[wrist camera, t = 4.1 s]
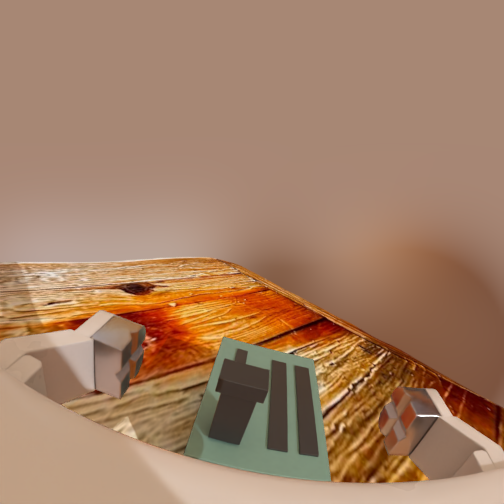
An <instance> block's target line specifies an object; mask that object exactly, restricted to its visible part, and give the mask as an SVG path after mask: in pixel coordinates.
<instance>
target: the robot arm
mask: <svg viewBox="0 0 504 504" xmlns="http://www.w3.org/2000/svg"><path fill="white" fill-rule="evenodd" d="M145 334H146V329H145V326H143V325H140V324H137V323H135V322H132V321H129V320H127V319H124V318H122V317H119V316H116V315H114V314H112V313H109V312H106V311H103V310H100V311H98V312H97V313H96V314H95V315H93V316H92V317H91V318H90V319H88V320H87V321H86V322H85V323H84V324H82V325H81V326H80V327H79V328H78V329H76V330H75V331H73V330H71V329H69V330H63V331H56V332H50V333H43V334H36V335H28V336H21V337H13V338H6V339H4V340H2V341H1V342H0V504H504V451H503V450H502V448H501V447H500V446H499V445H497V444H496V443H494V442H493V441H491V440H490V439H488V438H487V437H485V436H484V435H482V434H481V433H479V432H478V431H477V430H475V429H474V428H472V427H471V426H469V425H468V424H466V423H465V422H463V421H462V420H460V419H459V418H457V417H453V416H452V414H451V412H450V411H449V409H448V408H447V406H446V404H445V403H444V401H443V400H442V398H441V397H440V395H439V393H438V392H437V391H436V390H434V389H424V388H410V387H399V386H398V387H397V388H396V389H395V390H394V391H393V393H392V395H391V402H390V403H388V404H387V405H385V406H384V408H383V410H382V411H381V413H380V417H379V429H380V432H381V433H382V434H383V435H385V436H386V437H385V439H384V444H385V447H386V450H387V453H388V455H401V456H409V458H410V459H411V460H412V461H413V462H414V463H415V464H416V465H417V466H418V467H419V469H420V470H421V471H422V472H423V473H424V474H425V475H426V476H427V477H428V478H429V479H430V480H426V481H414V482H397V483H346V482H328V481H315V480H305V479H296V478H288V477H280V476H274V475H267V474H261V473H256V472H250V471H245V470H240V469H235V468H231V467H226V466H222V465H218V464H214V463H210V462H206V461H202V460H198V459H195V458H191V457H188V456H184V455H181V454H178V453H174V452H171V451H168V450H165V449H162V448H159V447H156V446H153V445H151V444H148V443H145V442H142V441H140V440H137V439H134V438H132V437H129V436H127V435H124V434H122V433H119V432H117V431H114V430H112V429H110V428H107V427H105V426H103V425H101V424H98V423H96V422H94V421H92V420H90V419H88V418H86V417H84V416H81V415H79V414H77V413H75V412H73V411H71V410H70V409H68V408H66V407H64V406H62V405H61V404H63V403H66V402H68V401H71V400H73V399H75V398H78V397H80V396H83V395H85V394H88V393H90V392H92V391H95V389H96V390H98V391H101V392H103V393H106V394H108V395H111V396H113V397H116V398H119V399H121V398H122V396H123V395H124V393H125V392H126V390H127V389H128V387H129V381H130V379H133V378H135V377H136V375H137V374H138V372H139V369H140V367H141V364H142V360H143V354H144V350H143V348H142V346H141V344H142V342H143V341H144V340H145Z"/></svg>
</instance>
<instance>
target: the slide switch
mask: <svg viewBox="0 0 504 504" xmlns="http://www.w3.org/2000/svg"><path fill="white" fill-rule="evenodd" d="M269 374H270V370H268V369H264V368H260V367H256V366H252V365H248V364H244V363H241V362H237V361H233V360H230V359H226V358H225V359H224V361H223V365H222V368H221V372H220V375H219V378H218V382H217V386H216V389H215V391H216V392H219V393H220V396H219V400H218V403H217V407H216V410H215V413H214V417H213V420H212V424H211V428H210V431H209V435H208V437H209V438H212V439H216V440H220V441H224V442H228V443H232V444H236V445H240V442H241V440H242V438H243V435H244V433H245V430H246V428H247V425H248V423H249V420H250V418H251V416H252V413H253V410H254V408H255V405H256V403H257V402H258V403H262V404H263V403H264V401H265V398H266V396H267V393H268V391H269Z"/></svg>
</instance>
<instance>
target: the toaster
mask: <svg viewBox="0 0 504 504" xmlns="http://www.w3.org/2000/svg"><path fill="white" fill-rule="evenodd" d="M225 358H226V359H230V360H233V361H237V362H241V363H244V364H248V365H252V366H256V367H260V368H264V369H268V370H270V374H269V391H268V393H267V396H266V398H265V401H264V403H263V404H262V403H258V402H257V403H256V405H255V408H254V410H253V413H252V416H251V418H250V420H249V423H248V425H247V428H246V430H245V433H244V435H243V438H242V440H241V442H240V445H236V444H232V443H228V442H224V441H220V440H216V439H212V438H209V437H208V435H209V431H210V428H211V424H212V420H213V417H214V413H215V410H216V407H217V403H218V400H219V396H220V393H219V392H216V391H215V389H216V386H217V382H218V378H219V375H220V372H221V368H222V365H223V361H224V359H225ZM184 456H188V457H191V458H195V459H198V460H202V461H206V462H210V463H214V464H218V465H222V466H226V467H231V468H235V469H240V470H245V471H250V472H256V473H261V474H267V475H274V476H280V477H288V478H296V479H305V480H315V481H328V482H331V478H330V469H329V462H328V454H327V446H326V439H325V432H324V425H323V418H322V411H321V404H320V398H319V391H318V385H317V379H316V373H315V366H314V360H313V359H309V358H304V357H300V356H296V355H292V354H287V353H283V352H279V351H275V350H271V349H267V348H263V347H259V346H255V345H252V344H248V343H244V342H240V341H237V340H233V339H230V338H226V337H223V339H222V342H221V345H220V348H219V351H218V354H217V357H216V360H215V363H214V366H213V369H212V372H211V375H210V378H209V381H208V384H207V387H206V390H205V393H204V396H203V399H202V402H201V404H200V407H199V410H198V413H197V416H196V419H195V422H194V425H193V428H192V431H191V434H190V437H189V440H188V443H187V446H186V449H185V452H184Z"/></svg>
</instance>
